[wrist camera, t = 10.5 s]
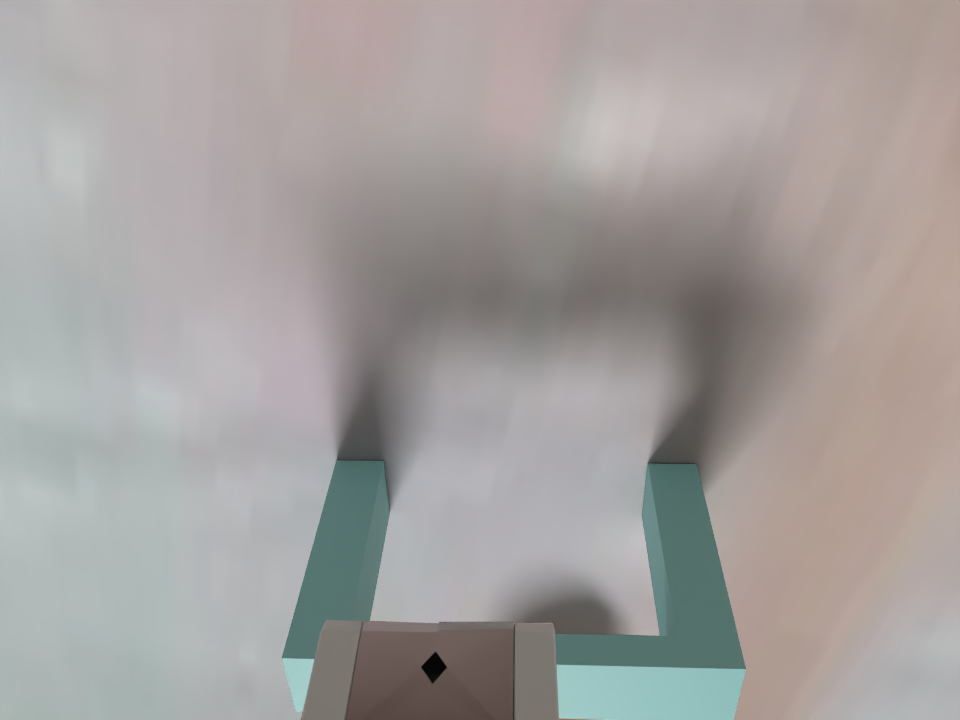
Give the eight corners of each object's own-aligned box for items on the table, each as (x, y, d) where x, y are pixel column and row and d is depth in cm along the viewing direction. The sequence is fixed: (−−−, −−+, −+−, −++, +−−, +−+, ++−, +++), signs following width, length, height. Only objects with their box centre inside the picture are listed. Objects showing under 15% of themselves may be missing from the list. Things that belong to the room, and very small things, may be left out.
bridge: (688, 515, 37) (732, 723, 29) (344, 511, 38) (295, 711, 30) (696, 464, 35) (745, 669, 27) (336, 460, 36) (281, 658, 28)
